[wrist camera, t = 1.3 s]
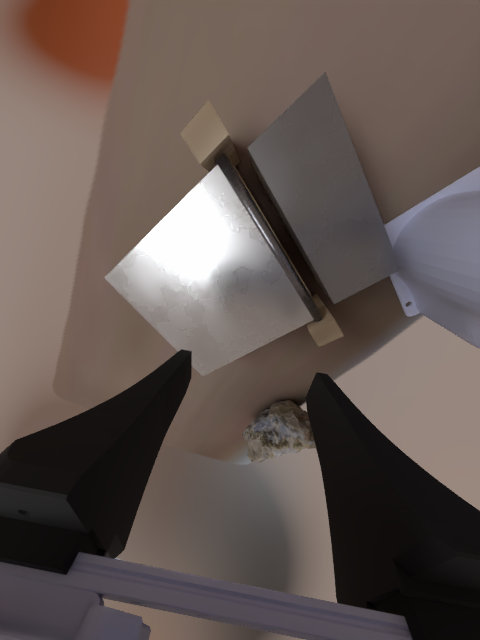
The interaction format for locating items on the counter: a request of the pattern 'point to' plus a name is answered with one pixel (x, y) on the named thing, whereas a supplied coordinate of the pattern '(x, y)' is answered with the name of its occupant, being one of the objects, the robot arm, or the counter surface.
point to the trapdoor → (261, 241)
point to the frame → (207, 146)
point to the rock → (279, 432)
